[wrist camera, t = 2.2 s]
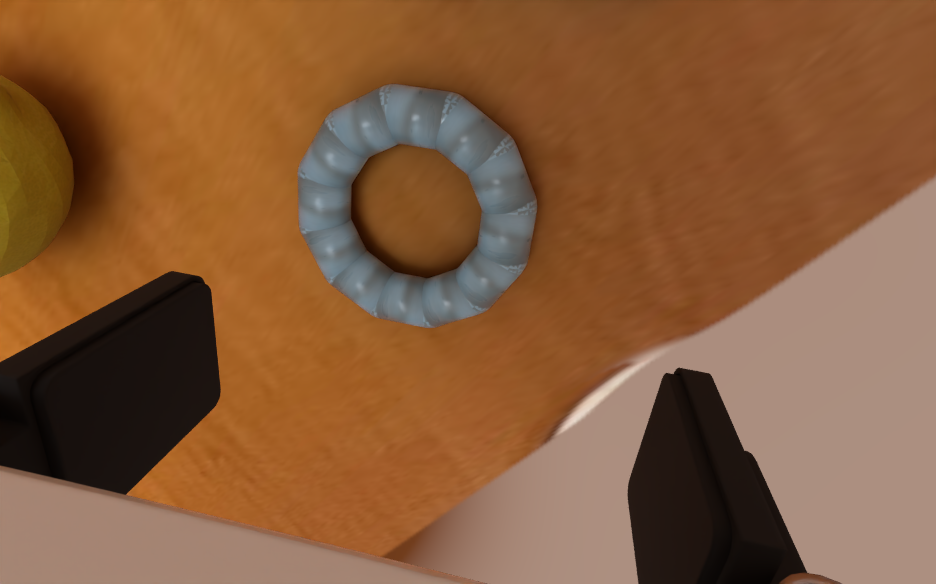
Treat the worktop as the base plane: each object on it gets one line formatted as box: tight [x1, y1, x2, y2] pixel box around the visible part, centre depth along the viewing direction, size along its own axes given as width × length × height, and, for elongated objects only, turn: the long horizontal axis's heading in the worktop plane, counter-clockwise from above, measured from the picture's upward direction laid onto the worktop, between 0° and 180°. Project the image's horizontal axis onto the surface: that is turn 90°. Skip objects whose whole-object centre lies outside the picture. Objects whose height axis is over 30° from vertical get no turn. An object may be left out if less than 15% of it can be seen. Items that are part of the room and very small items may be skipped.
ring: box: [298, 84, 537, 328], centre depth 20 cm, size 9×9×2 cm
